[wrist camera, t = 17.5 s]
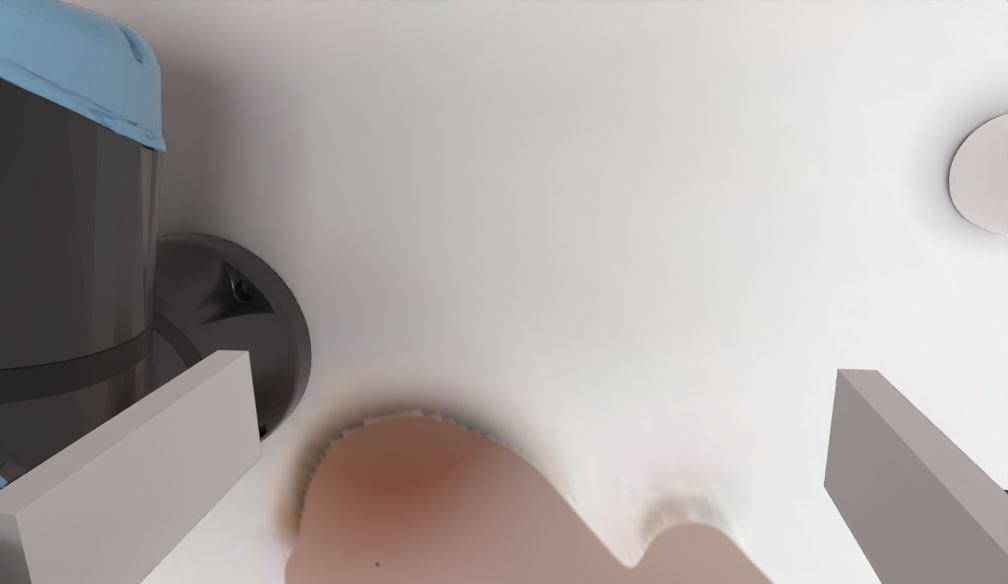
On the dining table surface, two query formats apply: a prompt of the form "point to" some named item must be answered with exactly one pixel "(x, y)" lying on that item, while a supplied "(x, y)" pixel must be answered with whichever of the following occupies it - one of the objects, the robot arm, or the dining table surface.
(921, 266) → the dining table surface
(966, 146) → the can
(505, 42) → the dining table surface
